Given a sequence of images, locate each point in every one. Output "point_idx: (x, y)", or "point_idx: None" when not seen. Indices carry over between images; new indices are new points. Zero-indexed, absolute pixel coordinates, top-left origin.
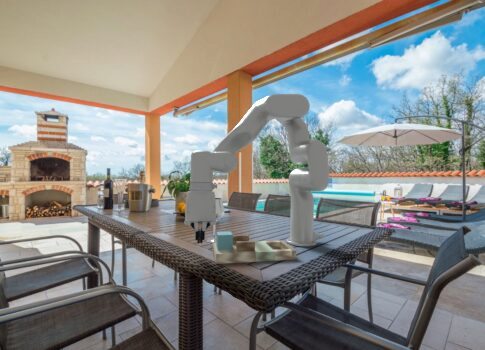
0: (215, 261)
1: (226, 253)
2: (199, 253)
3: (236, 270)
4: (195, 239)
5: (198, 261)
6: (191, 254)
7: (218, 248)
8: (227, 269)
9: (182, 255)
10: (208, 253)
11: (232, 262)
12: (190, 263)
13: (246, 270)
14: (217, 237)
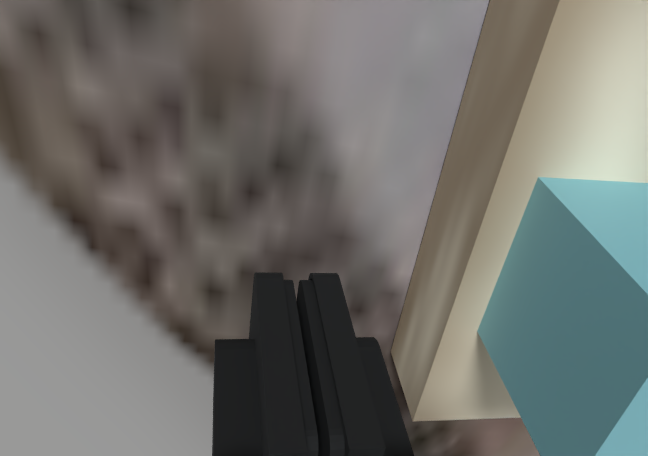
0: (400, 333)
1: (512, 411)
2: (296, 12)
3: (479, 446)
4: (213, 399)
5: (250, 279)
6: (175, 30)
7: (492, 348)
8: (433, 431)
9: (38, 44)
10: (418, 46)
11: None
12: (169, 312)
13: (535, 450)
14: (566, 406)
